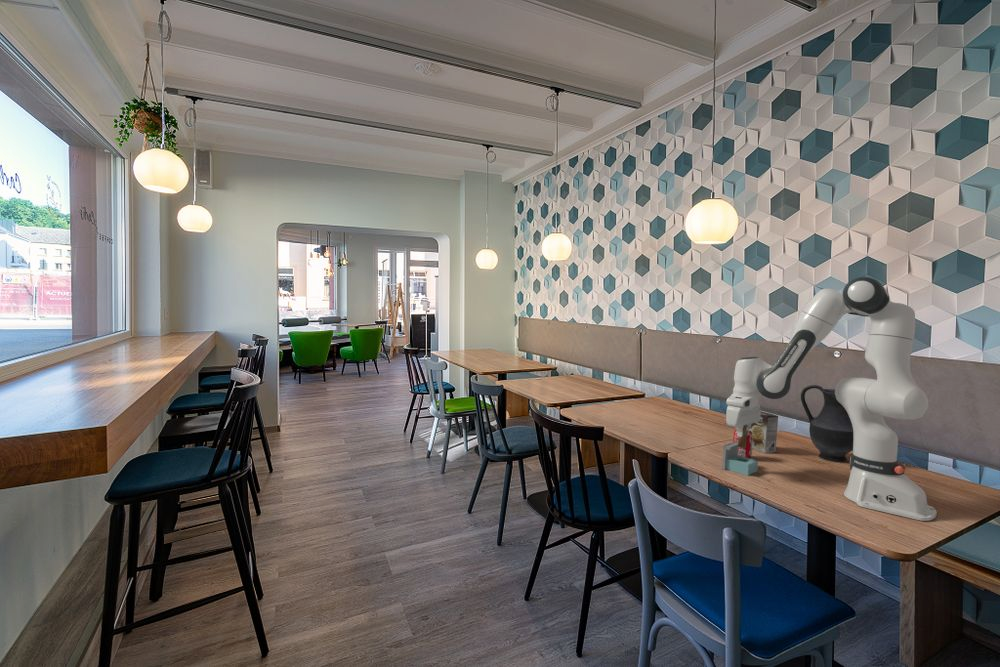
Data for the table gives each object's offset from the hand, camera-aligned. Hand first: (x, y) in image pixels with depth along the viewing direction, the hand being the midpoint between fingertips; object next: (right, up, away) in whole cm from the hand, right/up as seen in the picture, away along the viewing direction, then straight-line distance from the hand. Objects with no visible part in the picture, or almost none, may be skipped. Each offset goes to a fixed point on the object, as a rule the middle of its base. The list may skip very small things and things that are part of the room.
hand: (742, 435), depth 176 cm
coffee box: (+23, -12, +28) cm, 38 cm away
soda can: (+8, -13, +16) cm, 22 cm away
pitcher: (+44, -13, +18) cm, 50 cm away
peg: (0, -4, 0) cm, 4 cm away
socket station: (0, -13, 0) cm, 13 cm away
